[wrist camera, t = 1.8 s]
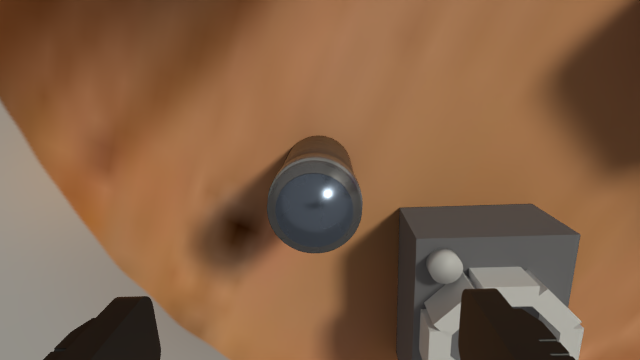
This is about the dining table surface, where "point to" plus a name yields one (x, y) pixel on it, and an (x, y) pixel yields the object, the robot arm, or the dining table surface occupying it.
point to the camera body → (481, 272)
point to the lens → (315, 197)
